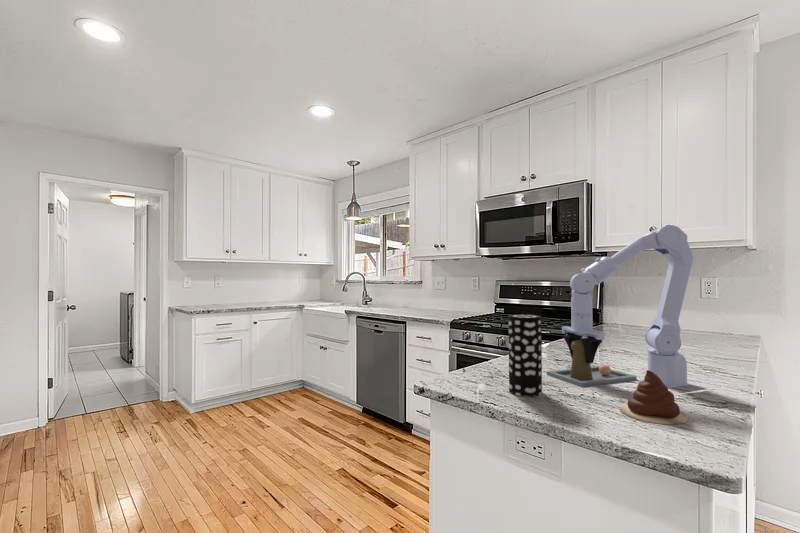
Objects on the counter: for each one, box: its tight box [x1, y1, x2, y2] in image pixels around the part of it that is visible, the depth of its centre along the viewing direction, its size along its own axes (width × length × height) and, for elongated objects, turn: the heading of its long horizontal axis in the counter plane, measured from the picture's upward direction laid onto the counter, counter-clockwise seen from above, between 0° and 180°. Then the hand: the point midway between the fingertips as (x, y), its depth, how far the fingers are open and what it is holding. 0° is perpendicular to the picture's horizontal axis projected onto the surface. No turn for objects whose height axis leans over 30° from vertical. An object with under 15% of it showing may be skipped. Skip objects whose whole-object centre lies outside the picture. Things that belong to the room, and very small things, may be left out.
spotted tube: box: [508, 314, 543, 397], centre depth 109 cm, size 8×8×20 cm
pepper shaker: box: [570, 340, 593, 381], centre depth 121 cm, size 6×6×11 cm
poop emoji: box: [626, 369, 681, 418], centre depth 92 cm, size 10×8×9 cm
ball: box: [599, 364, 611, 376], centre depth 124 cm, size 3×3×3 cm
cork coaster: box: [619, 403, 689, 426], centre depth 92 cm, size 13×13×1 cm
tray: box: [546, 365, 638, 388], centre depth 122 cm, size 20×14×2 cm
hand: (582, 360), depth 121 cm, fingers closed on pepper shaker, 5 cm apart
